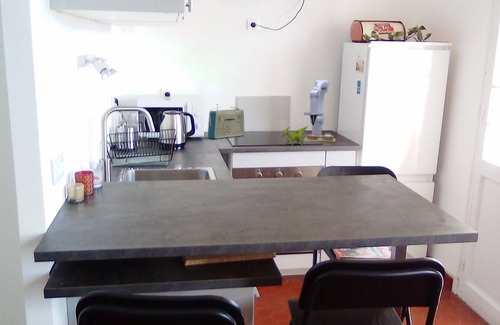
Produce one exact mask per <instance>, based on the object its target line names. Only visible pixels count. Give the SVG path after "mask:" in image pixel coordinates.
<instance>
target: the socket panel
mask: <svg viewBox="0 0 500 325" xmlns="http://www.w3.org/2000/svg"><path fill="white" fill-rule="evenodd" d="M310 134H311V133H308V134H307V135H306V137H304V140H303V142H311V141H313V142H314V143H333V144H334V143H336V138H334V135H332V134H331V137H325V134H321V135H322V137H318V135H316V136H309V135H310Z"/></svg>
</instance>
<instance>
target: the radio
mask: <svg viewBox="0 0 500 325" xmlns="http://www.w3.org/2000/svg"><path fill="white" fill-rule="evenodd" d="M218 105H219V104H218V103H216V110H214V108H212V109H211V110H209V114H208V124H207V137H208V138H209V139H212V140H223V139H230V138H239V137H240V138H241V137H244V136H245V133H246V131H245V112H244V109H242V108H241V109H240V108H238V107H234V106H231V108H232V109H222V110H218V108H219V109H220V108H221V106H220V107H218Z"/></svg>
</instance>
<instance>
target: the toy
mask: <svg viewBox="0 0 500 325" xmlns="http://www.w3.org/2000/svg"><path fill="white" fill-rule="evenodd" d="M308 127H309V125H307V126H304V127H302V128H300V129H298V130H295V131H293V132H292V133H290V134H289V131H288V130H289V129H291V127H288V128H286V129H285V130H284V131H283V132H282V134H281V135H280V136H281V137H282V138H283V137H284V136H285V137H286V138H287V139H288V142H287V144H290V143H292V144H291V146H294V144H295V142H296V144H299V143H301V144H300V146H303V145H304V143H305V142H304V140H302V139H303V135H304V132H305V131H306V130H307V129H308Z"/></svg>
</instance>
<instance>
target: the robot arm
mask: <svg viewBox="0 0 500 325" xmlns="http://www.w3.org/2000/svg"><path fill="white" fill-rule="evenodd" d="M329 85H330V83H329V80H328V79H327V80H325V79H316V80H315V81H314V87H313V88H312V89H311V90H310V92H309V101H310V107H309V111H303V116H309V117H310V124H311V134H316V135H318V138H322V135H323V134H322V129H323V128H322V127H323V125H324V123H325V114H324V112H323V108H324V107H323V106H324V99H325V96H326V95H325V94H326V93H328V91H329V87H330V86H329Z"/></svg>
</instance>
